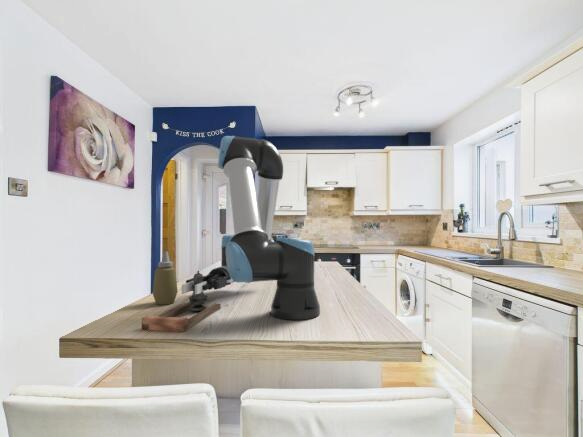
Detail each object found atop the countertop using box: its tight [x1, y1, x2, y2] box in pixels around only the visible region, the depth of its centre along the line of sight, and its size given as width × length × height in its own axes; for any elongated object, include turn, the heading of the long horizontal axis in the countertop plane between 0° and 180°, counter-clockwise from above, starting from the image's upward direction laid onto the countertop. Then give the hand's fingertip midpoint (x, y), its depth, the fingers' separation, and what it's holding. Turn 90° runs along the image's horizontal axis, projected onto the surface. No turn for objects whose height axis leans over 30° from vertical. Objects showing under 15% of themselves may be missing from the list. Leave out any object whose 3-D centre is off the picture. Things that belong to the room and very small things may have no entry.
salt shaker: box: [188, 270, 208, 311], centre depth 97 cm, size 6×6×12 cm
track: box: [141, 301, 222, 333], centre depth 89 cm, size 12×23×3 cm, turn 170°
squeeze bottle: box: [152, 251, 179, 306], centre depth 106 cm, size 8×8×18 cm
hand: (189, 289), depth 91 cm, fingers closed on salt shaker, 4 cm apart
